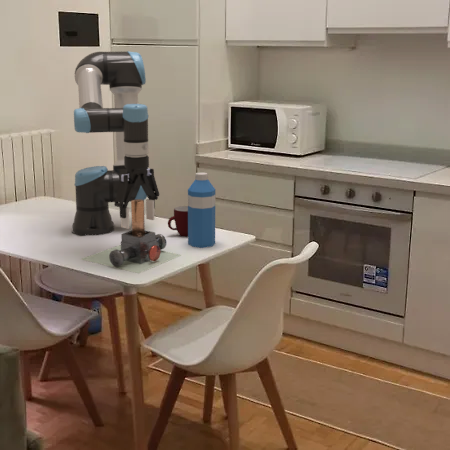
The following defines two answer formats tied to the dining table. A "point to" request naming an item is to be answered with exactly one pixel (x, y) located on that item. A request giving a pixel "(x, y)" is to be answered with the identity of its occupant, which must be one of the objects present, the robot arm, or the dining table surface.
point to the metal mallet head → (138, 248)
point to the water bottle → (201, 212)
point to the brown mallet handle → (137, 217)
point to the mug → (180, 220)
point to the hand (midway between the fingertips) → (138, 223)
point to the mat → (128, 266)
